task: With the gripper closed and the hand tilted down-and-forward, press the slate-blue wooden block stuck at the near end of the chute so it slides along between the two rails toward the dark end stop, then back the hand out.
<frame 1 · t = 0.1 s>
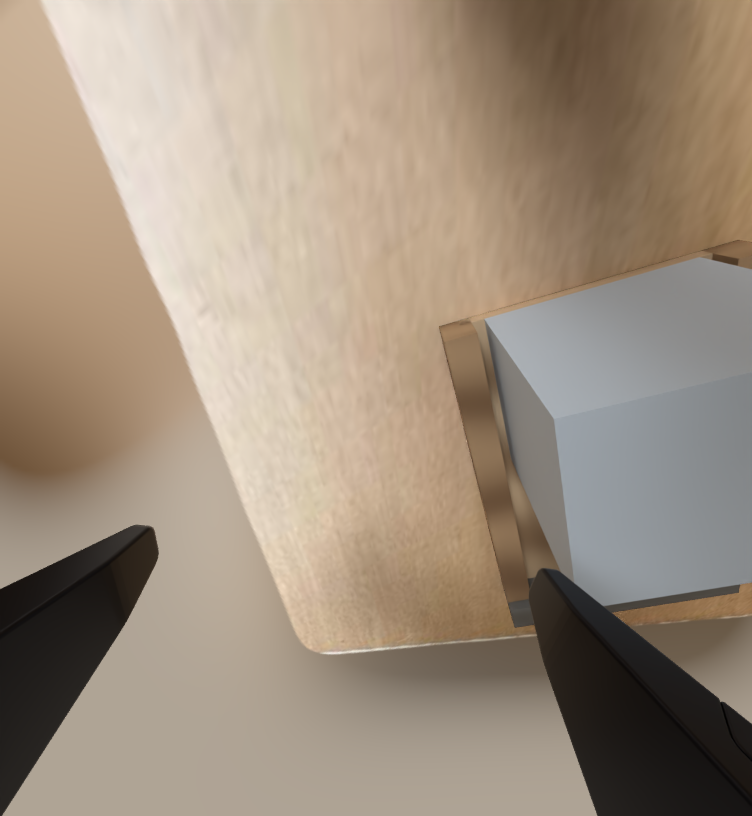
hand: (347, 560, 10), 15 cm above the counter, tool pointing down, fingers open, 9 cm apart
block: (592, 371, 22), point 1 cm above the counter, touching chute
chute: (592, 458, 25), on the counter
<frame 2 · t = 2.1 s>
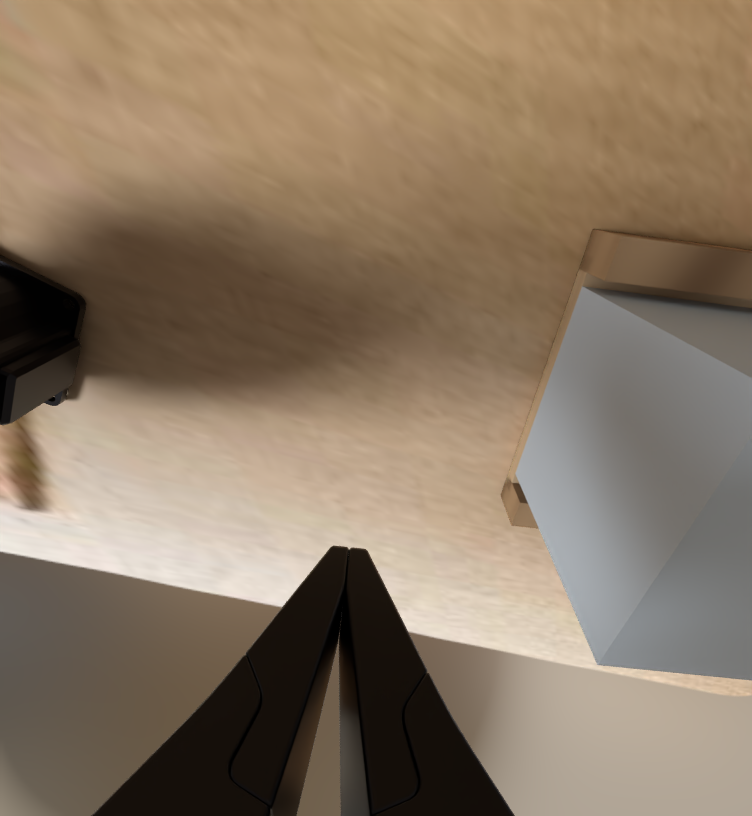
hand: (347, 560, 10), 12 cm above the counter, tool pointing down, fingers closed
block: (635, 402, 20), point 1 cm above the counter, touching chute
chute: (751, 410, 21), on the counter
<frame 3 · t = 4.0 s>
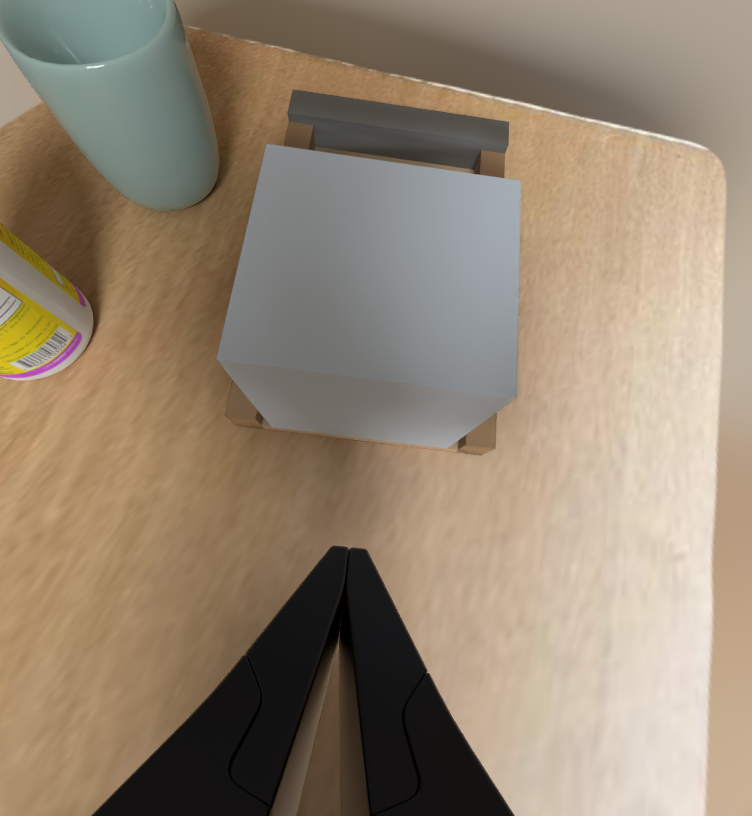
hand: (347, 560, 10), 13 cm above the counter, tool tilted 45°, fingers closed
block: (369, 364, 24), point 1 cm above the counter, touching chute
chute: (380, 276, 27), on the counter
cup: (176, 184, 28), on the counter
supplement bottle: (42, 333, 25), on the counter
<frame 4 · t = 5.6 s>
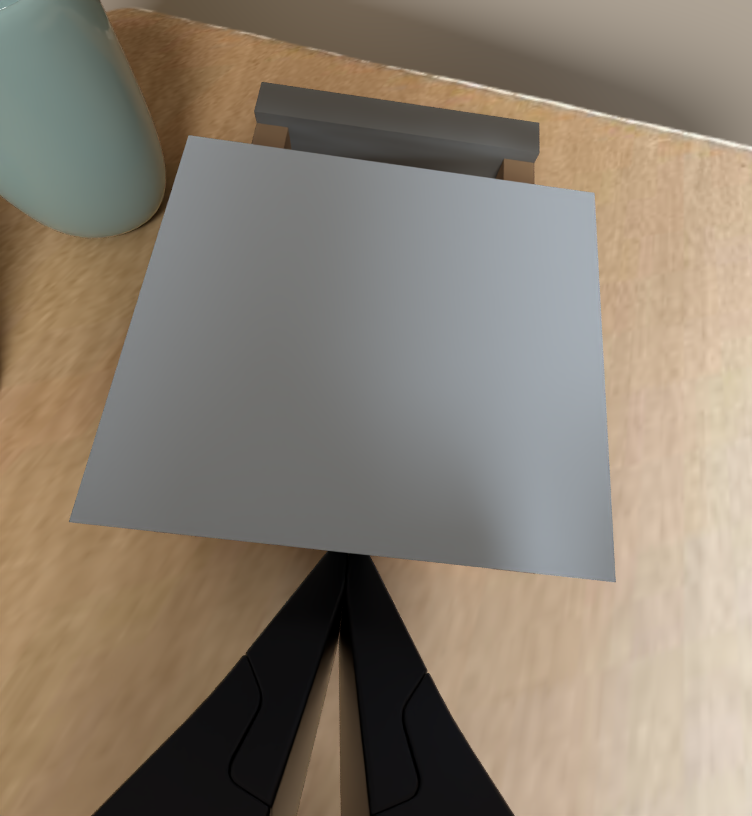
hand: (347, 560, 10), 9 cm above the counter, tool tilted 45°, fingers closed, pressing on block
block: (360, 432, 18), point 1 cm above the counter, touching chute, gripper
chute: (375, 321, 21), on the counter
cup: (114, 203, 22), on the counter
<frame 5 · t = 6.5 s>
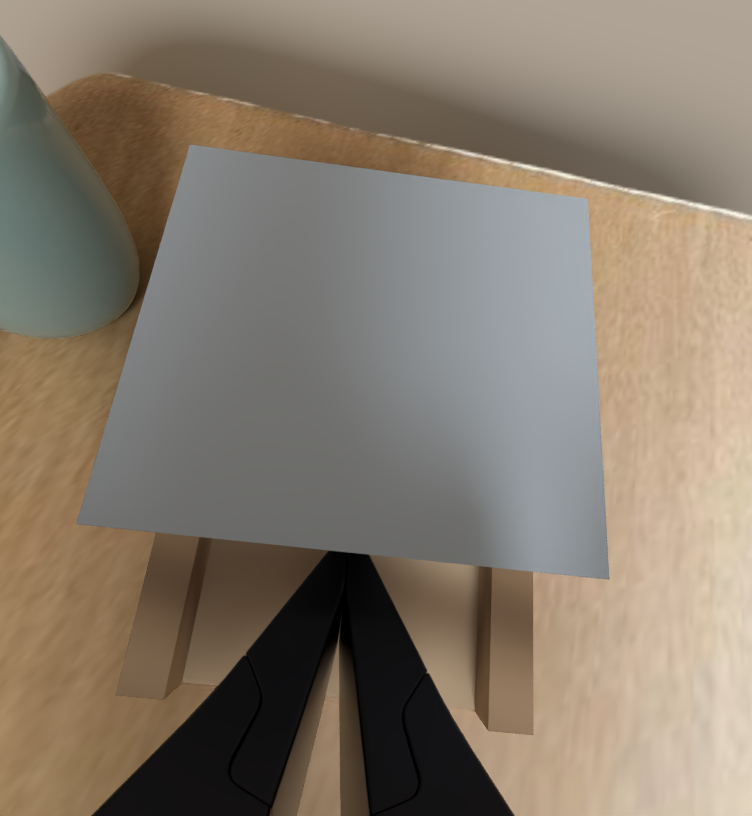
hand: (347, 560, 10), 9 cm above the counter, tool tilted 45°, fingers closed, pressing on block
block: (360, 434, 18), point 1 cm above the counter, touching chute, gripper
chute: (362, 423, 19), on the counter
cup: (86, 292, 21), on the counter
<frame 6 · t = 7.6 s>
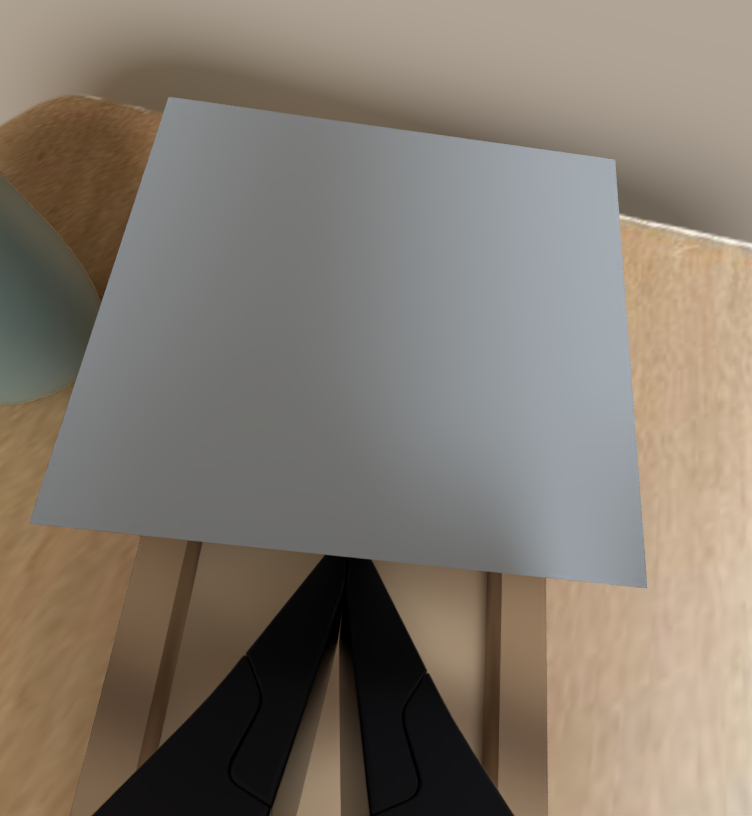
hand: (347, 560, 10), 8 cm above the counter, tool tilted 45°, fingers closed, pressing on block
block: (360, 427, 17), point 1 cm above the counter, touching chute, gripper
chute: (353, 495, 17), on the counter
cup: (47, 345, 19), on the counter
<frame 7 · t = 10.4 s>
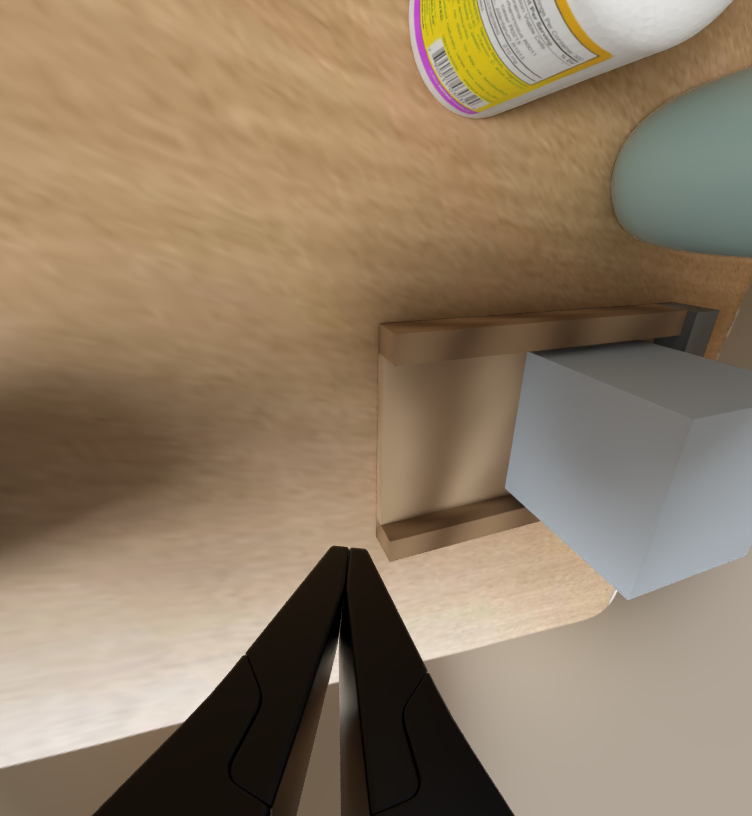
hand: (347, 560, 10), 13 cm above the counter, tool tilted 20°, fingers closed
block: (569, 415, 28), point 1 cm above the counter, touching chute
chute: (527, 417, 28), on the counter
cup: (638, 176, 24), on the counter
supplement bottle: (469, 32, 18), on the counter
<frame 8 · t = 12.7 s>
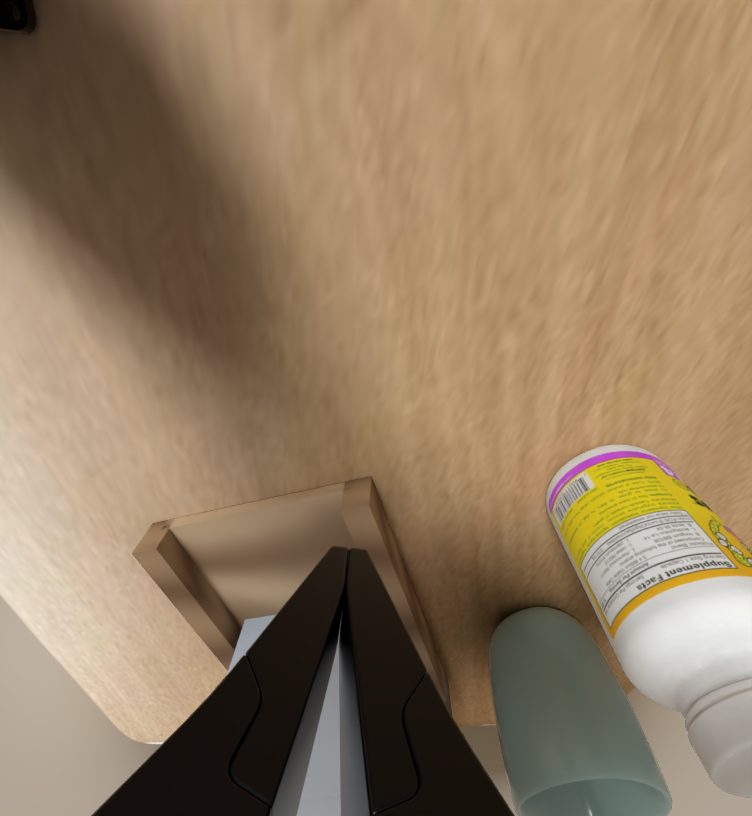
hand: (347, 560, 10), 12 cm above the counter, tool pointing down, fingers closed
block: (332, 646, 30), point 1 cm above the counter, touching chute
chute: (319, 612, 30), on the counter
cup: (532, 622, 30), on the counter
supplement bottle: (600, 484, 24), on the counter
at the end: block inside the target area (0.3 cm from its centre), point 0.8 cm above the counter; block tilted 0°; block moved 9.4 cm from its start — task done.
